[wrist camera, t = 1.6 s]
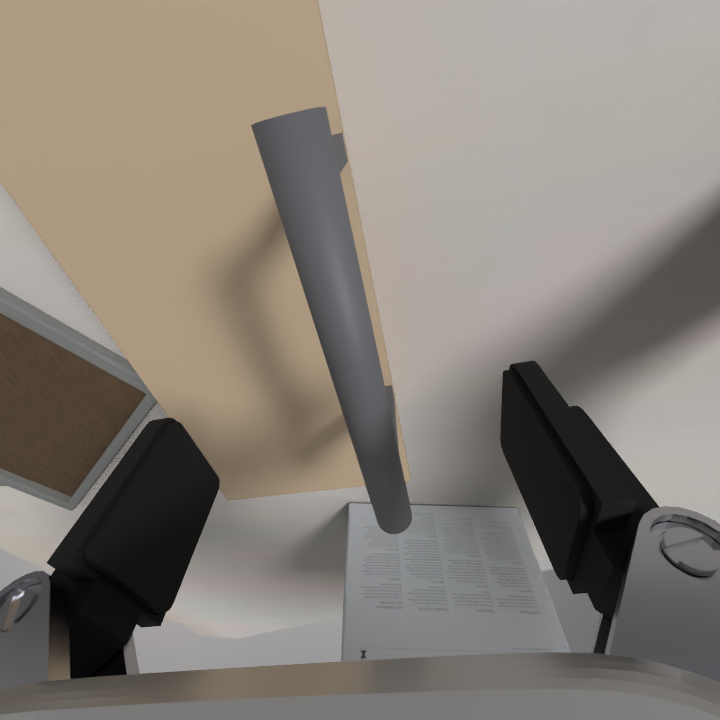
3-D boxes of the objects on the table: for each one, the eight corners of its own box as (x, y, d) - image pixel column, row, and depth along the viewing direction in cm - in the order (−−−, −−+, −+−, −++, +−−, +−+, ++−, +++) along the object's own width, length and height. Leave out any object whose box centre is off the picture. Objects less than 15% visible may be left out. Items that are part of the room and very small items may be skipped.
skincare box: (348, 524, 45) (338, 687, 32) (348, 500, 42) (337, 669, 29) (507, 530, 45) (563, 697, 32) (519, 506, 42) (586, 680, 29)
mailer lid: (284, -233, 9) (-54, -1623, 2) (413, 472, 27) (430, 608, 19) (-146, -57, 12) (-1110, -396, 4) (231, 491, 29) (181, 621, 21)
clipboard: (164, 391, 31) (66, 520, 44) (172, 380, 33) (75, 508, 46) (-90, 248, 24) (-119, 450, 37) (-66, 241, 26) (-102, 439, 39)
